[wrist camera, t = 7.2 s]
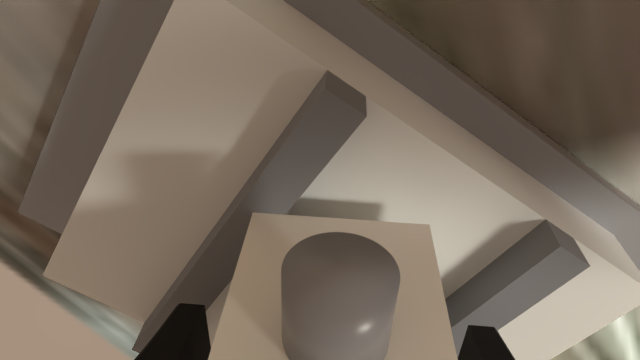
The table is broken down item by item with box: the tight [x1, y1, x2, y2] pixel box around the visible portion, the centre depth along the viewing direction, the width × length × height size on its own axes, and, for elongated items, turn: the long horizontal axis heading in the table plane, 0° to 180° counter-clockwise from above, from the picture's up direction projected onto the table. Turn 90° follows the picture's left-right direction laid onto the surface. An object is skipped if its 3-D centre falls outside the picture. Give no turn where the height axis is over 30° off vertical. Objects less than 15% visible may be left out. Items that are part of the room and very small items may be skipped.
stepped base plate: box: [18, 0, 640, 360], centre depth 14 cm, size 18×12×4 cm, turn 56°
